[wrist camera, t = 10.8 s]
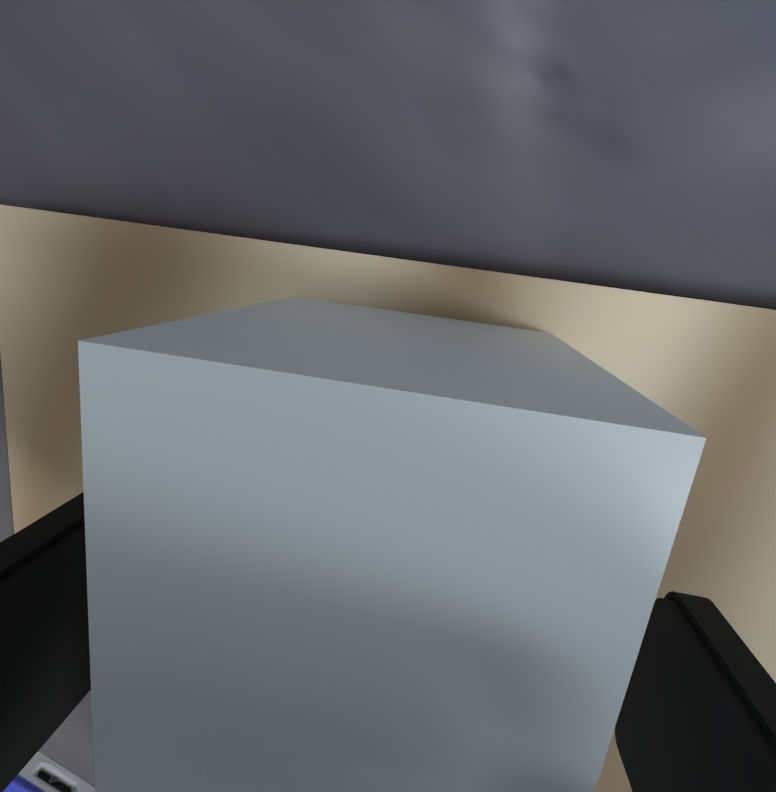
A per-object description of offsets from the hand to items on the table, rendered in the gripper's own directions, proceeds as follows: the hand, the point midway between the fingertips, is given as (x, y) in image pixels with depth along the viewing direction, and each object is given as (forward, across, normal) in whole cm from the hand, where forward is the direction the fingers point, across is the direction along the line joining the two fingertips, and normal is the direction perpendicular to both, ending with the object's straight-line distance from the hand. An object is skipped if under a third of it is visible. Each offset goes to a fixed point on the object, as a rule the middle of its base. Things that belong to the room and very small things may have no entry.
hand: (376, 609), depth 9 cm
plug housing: (+2, 0, 0) cm, 2 cm away
